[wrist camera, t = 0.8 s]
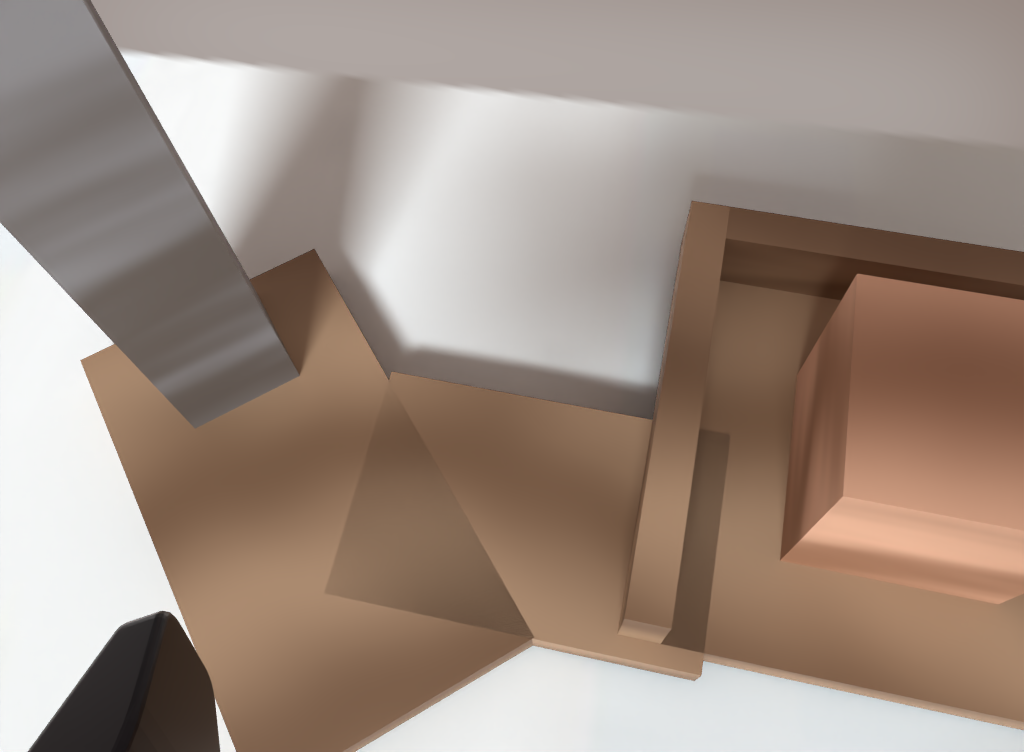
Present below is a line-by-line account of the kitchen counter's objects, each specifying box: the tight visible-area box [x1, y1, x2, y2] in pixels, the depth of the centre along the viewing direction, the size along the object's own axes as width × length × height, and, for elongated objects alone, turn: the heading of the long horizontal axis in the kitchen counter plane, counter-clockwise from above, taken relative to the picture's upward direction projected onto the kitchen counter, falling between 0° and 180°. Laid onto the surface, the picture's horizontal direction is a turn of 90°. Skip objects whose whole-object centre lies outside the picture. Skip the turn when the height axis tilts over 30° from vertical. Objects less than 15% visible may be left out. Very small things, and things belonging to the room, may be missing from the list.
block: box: [780, 274, 1024, 604], centre depth 20 cm, size 5×5×5 cm
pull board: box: [0, 0, 1024, 752], centre depth 17 cm, size 21×24×15 cm
